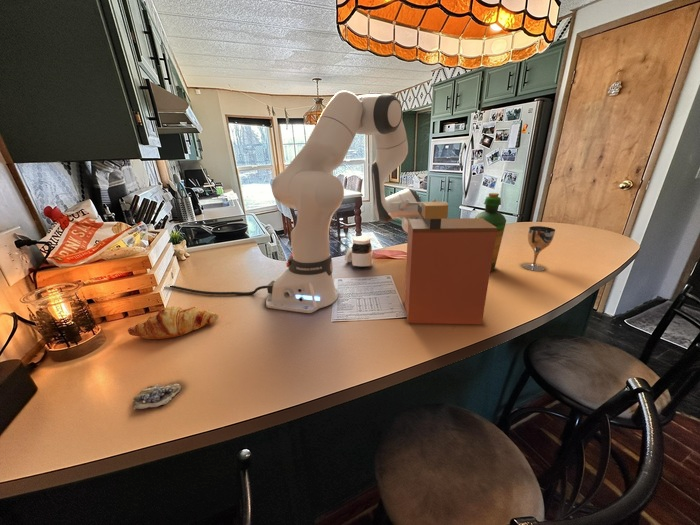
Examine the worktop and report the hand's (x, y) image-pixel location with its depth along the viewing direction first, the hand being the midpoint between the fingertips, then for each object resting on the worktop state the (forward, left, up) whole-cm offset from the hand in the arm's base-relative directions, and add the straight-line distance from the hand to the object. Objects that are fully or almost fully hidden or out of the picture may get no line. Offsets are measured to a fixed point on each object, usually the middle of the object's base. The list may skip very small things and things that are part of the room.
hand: (421, 201), depth 92 cm
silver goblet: (+45, +9, -27) cm, 53 cm away
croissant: (-68, -36, -27) cm, 82 cm away
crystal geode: (-57, -57, -27) cm, 85 cm away
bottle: (+26, +8, -27) cm, 38 cm away
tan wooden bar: (-1, -20, -1) cm, 20 cm away
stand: (+3, -25, -27) cm, 37 cm away
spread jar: (-22, +11, -27) cm, 37 cm away
